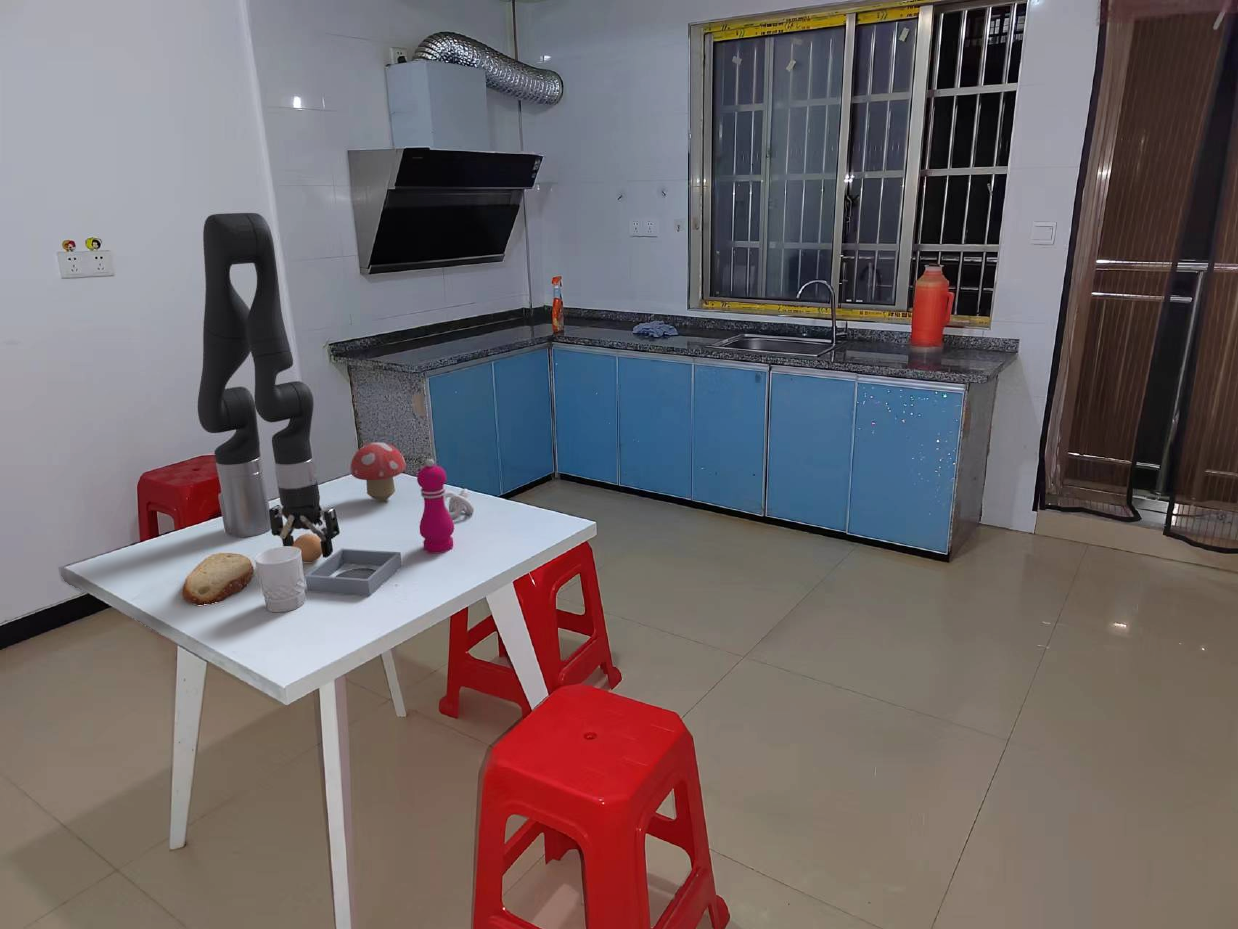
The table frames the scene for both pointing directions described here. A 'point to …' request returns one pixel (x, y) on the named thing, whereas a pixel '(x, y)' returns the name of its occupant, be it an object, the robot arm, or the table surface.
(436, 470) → the pepper mill
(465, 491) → the knot
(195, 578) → the slice of bread
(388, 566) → the corral
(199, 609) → the table surface
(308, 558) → the ball
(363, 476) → the decorative mushroom
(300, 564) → the white cup
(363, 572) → the pad
